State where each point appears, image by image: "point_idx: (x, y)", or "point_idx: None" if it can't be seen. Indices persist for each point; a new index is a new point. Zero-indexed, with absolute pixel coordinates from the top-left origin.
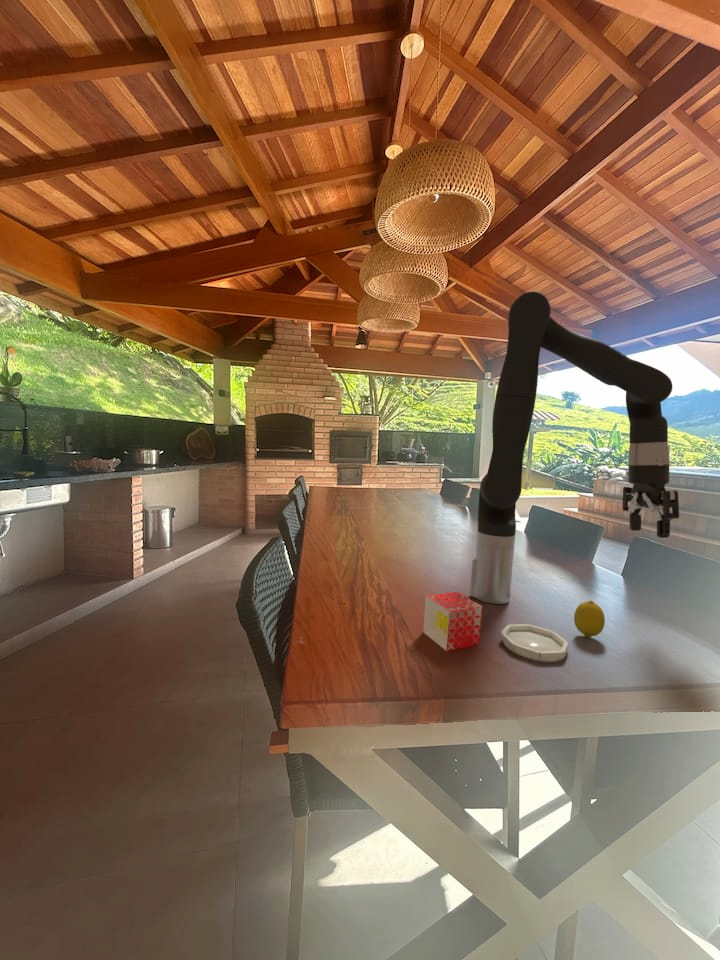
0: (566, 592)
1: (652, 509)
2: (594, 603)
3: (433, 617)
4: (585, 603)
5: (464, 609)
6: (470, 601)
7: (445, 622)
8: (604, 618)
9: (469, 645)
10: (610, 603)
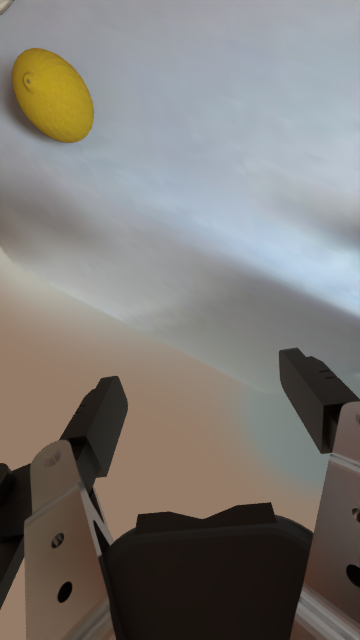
0: (348, 163)
1: (52, 502)
2: (30, 94)
3: None
4: (26, 63)
5: None
6: None
7: None
8: (49, 135)
9: None
10: (281, 252)
